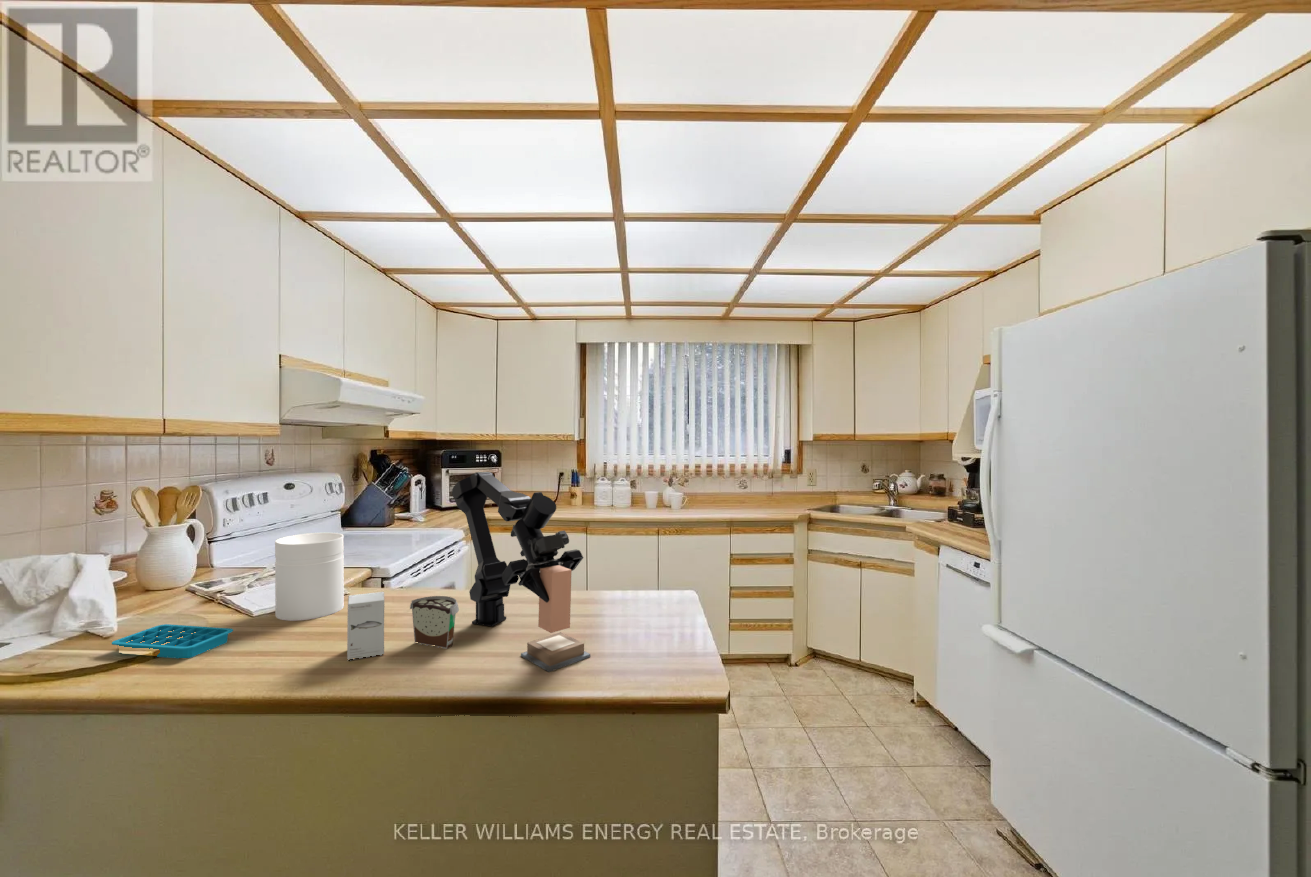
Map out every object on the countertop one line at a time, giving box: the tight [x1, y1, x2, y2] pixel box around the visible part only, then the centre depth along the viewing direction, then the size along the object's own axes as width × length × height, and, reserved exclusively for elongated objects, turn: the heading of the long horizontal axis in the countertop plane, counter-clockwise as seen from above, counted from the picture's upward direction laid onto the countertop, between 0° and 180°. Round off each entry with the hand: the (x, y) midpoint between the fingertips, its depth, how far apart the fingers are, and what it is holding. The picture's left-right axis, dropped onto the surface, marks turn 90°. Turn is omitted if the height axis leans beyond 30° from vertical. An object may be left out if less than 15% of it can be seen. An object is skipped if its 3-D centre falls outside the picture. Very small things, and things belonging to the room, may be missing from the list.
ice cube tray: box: [111, 623, 234, 659], centre depth 124 cm, size 12×20×3 cm, turn 82°
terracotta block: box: [537, 565, 572, 634], centre depth 121 cm, size 5×5×13 cm
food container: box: [409, 595, 460, 650], centre depth 129 cm, size 12×6×10 cm, turn 71°
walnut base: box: [520, 631, 591, 673], centre depth 122 cm, size 11×11×3 cm
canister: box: [274, 532, 345, 622], centre depth 150 cm, size 16×16×20 cm
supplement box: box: [346, 591, 385, 661], centre depth 122 cm, size 7×7×13 cm
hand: (558, 598), depth 120 cm, fingers closed on terracotta block, 5 cm apart
